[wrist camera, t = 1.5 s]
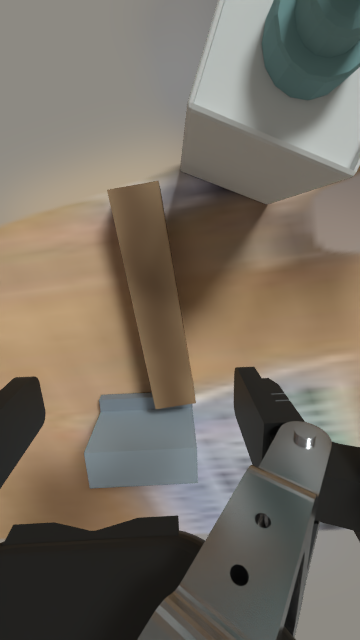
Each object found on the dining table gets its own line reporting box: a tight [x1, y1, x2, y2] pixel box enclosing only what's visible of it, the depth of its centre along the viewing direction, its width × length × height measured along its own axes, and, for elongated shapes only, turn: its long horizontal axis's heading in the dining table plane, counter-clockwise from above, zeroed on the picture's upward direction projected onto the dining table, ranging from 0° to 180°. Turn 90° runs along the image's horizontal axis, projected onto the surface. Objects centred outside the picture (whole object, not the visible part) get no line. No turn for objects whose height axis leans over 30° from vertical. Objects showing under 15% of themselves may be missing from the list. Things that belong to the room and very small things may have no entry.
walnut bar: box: [107, 181, 196, 409], centre depth 26 cm, size 4×20×4 cm, turn 9°
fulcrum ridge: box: [84, 393, 198, 488], centre depth 29 cm, size 10×7×7 cm
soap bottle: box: [180, 0, 360, 204], centre depth 15 cm, size 9×9×19 cm
